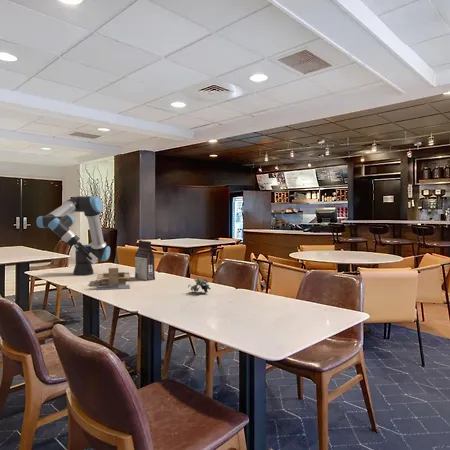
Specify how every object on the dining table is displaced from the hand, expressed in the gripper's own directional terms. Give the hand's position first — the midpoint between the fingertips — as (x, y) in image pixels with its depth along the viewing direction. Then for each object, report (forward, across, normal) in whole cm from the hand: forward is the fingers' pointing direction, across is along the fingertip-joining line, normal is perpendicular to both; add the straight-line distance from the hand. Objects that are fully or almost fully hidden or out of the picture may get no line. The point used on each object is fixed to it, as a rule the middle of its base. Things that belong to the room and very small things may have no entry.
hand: (96, 261), depth 237 cm
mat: (+20, 0, -5) cm, 20 cm away
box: (+19, 0, -4) cm, 20 cm away
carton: (+20, -19, -5) cm, 28 cm away
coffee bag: (+35, -29, +11) cm, 47 cm away
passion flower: (+55, +32, +30) cm, 70 cm away
